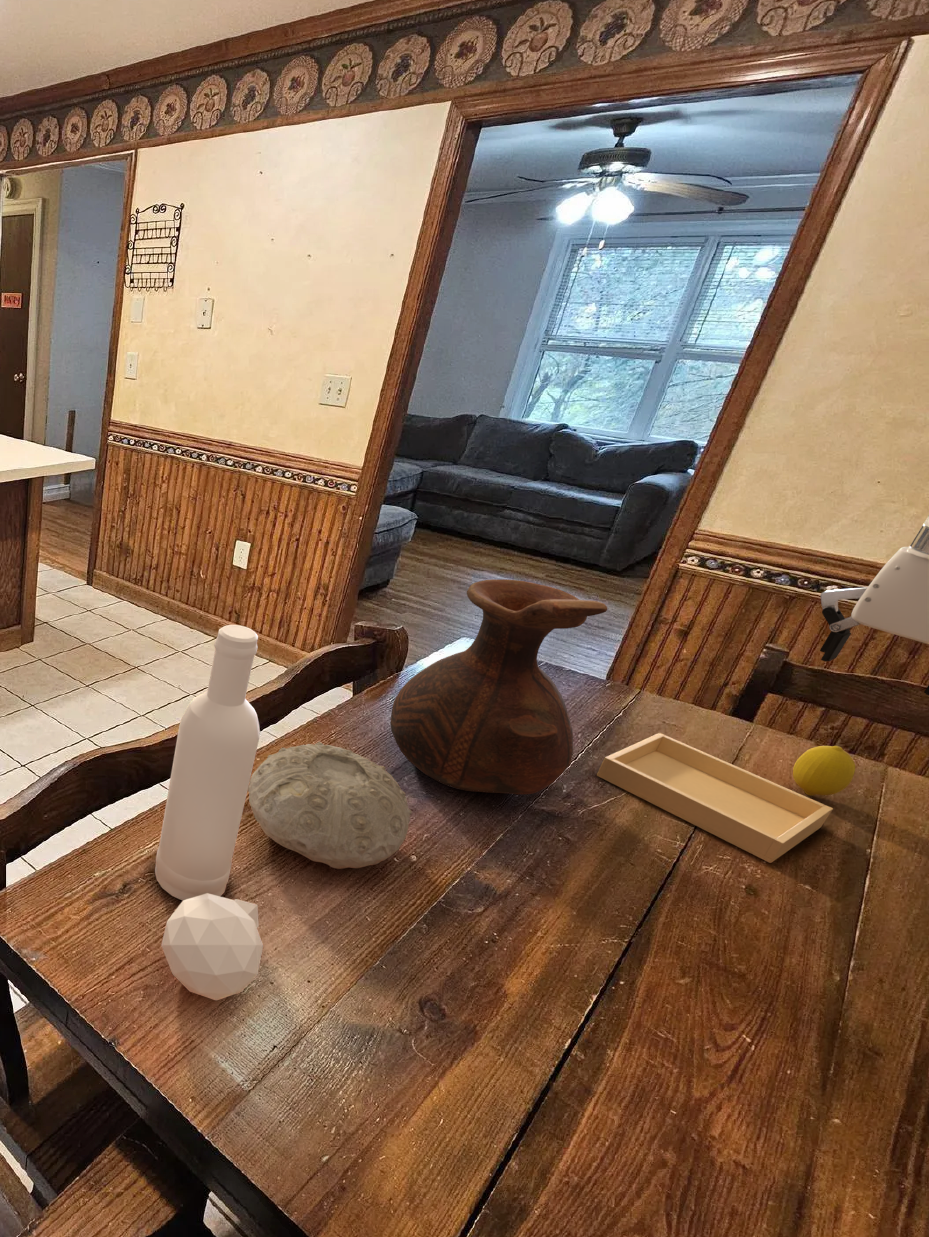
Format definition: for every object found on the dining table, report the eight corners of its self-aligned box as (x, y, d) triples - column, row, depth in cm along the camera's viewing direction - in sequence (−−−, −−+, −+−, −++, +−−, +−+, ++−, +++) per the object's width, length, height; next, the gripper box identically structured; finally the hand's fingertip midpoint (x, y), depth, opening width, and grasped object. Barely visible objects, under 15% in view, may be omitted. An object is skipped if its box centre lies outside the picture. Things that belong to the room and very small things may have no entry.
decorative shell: (347, 913, 79) (371, 839, 74) (212, 823, 91) (226, 755, 86) (424, 846, 89) (449, 777, 85) (294, 774, 101) (310, 710, 97)
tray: (820, 827, 97) (833, 808, 96) (770, 863, 90) (783, 843, 89) (650, 749, 112) (659, 732, 111) (596, 775, 105) (604, 757, 104)
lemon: (798, 802, 102) (829, 754, 98) (772, 779, 107) (800, 732, 103) (845, 810, 101) (878, 761, 97) (817, 787, 106) (848, 739, 102)
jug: (350, 760, 105) (409, 559, 92) (416, 713, 118) (476, 531, 105) (519, 843, 91) (618, 618, 77) (573, 779, 104) (665, 577, 91)
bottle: (162, 845, 87) (203, 608, 74) (231, 865, 84) (285, 624, 71) (146, 891, 80) (188, 639, 67) (220, 914, 78) (279, 657, 64)
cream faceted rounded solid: (236, 1036, 63) (292, 965, 72) (230, 935, 61) (288, 876, 70) (147, 1000, 69) (209, 939, 77) (140, 908, 67) (204, 857, 76)
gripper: (1082, 568, 83) (985, 701, 90) (871, 524, 96) (801, 643, 104) (1066, 577, 79) (967, 714, 87) (850, 529, 93) (780, 652, 100)
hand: (877, 675), depth 95 cm, fingers open, 9 cm apart
